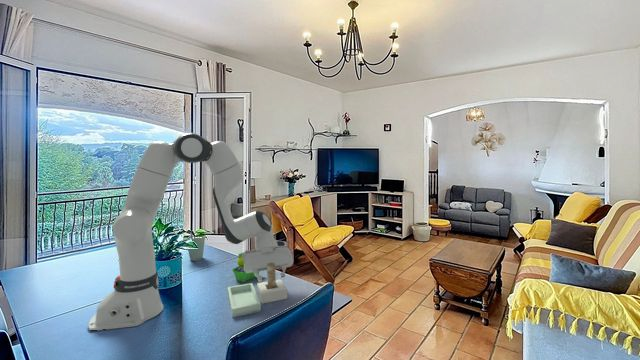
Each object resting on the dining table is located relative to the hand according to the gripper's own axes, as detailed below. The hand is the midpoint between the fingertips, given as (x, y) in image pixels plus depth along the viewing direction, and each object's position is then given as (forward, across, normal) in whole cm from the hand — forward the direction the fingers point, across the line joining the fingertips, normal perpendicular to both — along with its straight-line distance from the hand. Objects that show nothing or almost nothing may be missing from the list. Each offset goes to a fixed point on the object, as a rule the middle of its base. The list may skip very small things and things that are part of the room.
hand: (271, 278), depth 120 cm
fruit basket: (-11, -7, +22) cm, 26 cm away
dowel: (+5, 0, +6) cm, 7 cm away
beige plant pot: (-38, -29, +48) cm, 68 cm away
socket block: (+5, 0, +6) cm, 7 cm away
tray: (+5, -12, +5) cm, 14 cm away
